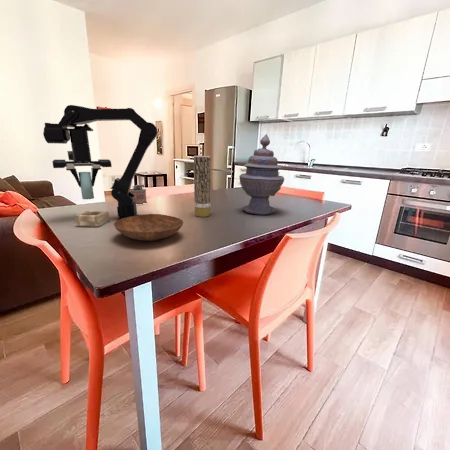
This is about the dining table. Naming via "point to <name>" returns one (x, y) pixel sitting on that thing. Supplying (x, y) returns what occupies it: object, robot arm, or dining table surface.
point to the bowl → (148, 226)
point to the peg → (86, 185)
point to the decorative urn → (261, 179)
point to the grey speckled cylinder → (202, 186)
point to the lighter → (139, 194)
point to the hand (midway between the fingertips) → (86, 186)
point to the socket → (92, 219)
